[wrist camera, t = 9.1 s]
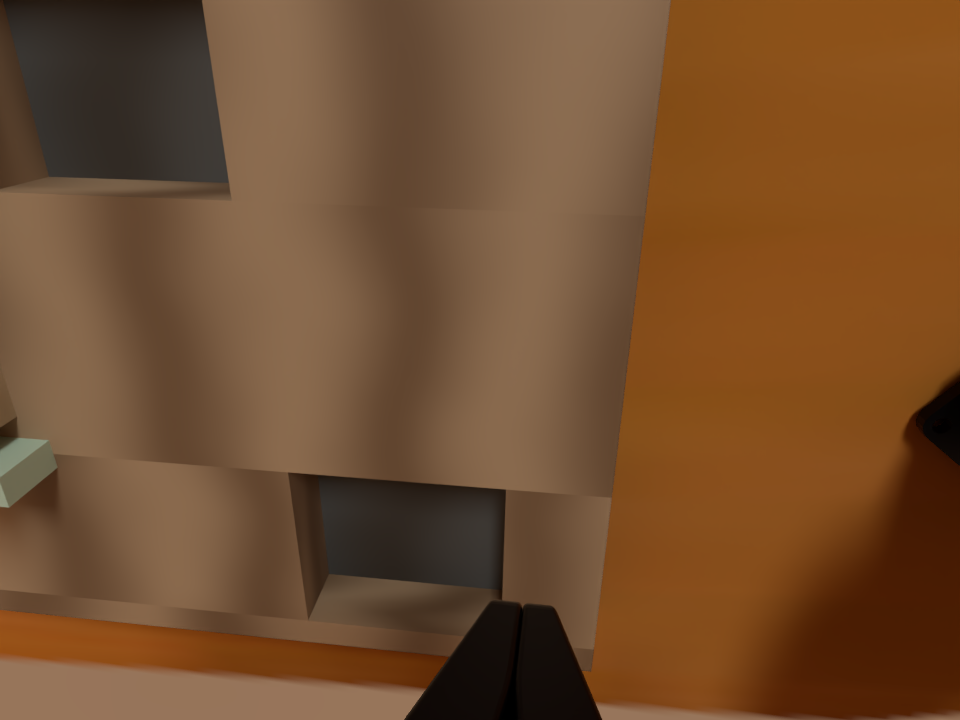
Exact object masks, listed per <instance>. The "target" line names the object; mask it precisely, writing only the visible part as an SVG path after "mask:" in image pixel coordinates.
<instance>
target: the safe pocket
mask: <svg viewBox="0 0 960 720" xmlns="http://www.w3.org/2000/svg"><path fill="white" fill-rule="evenodd" d="M56 468H58V467H57V464H56V461H55V458H54V455H53V452H52V448H51V445H50V442H49V440H40V439H26V438H13V437H0V507H8V508H9V507H11V506H12V505H13V504H14V503H15V502H17V501H18V500H19V499H20V498H21V497H23V496H24V495H25V494H26V493H27V492H29V491H30V490H31V489H32V488H33V487H35V486H36V485H37V484H38V483H39V482H41V481H42V480H43V479H44V478H46V477H47V476H48V475H49V474H50V473H52V472H53V471H54V470H55V469H56Z"/></svg>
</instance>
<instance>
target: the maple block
mask: <svg viewBox="0 0 960 720" xmlns="http://www.w3.org/2000/svg"><path fill="white" fill-rule="evenodd" d="M15 417H17V415H16V412H15V409H14V406H13V403H12V400H11V397H10V394H9V391H8V388H7V385H6V382H5V379H4V376H3V373H2V370H1V367H0V427H2V426H3V425H5V424H6V423H8V422H9V421H11V420H12V419H14V418H15Z"/></svg>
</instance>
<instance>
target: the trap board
mask: <svg viewBox="0 0 960 720" xmlns="http://www.w3.org/2000/svg"><path fill="white" fill-rule="evenodd" d="M670 2H671V0H0V367H1V370H2V373H3V376H4V379H5V382H6V385H7V388H8V391H9V394H10V397H11V400H12V403H13V406H14V409H15V412H16V415H17V417H15V418H14V419H12V420H11V421H9V422H8V423H6V424H5V425H3V426H2V427H0V437H13V438H26V439H40V440H49V442H50V445H51V448H52V452H53V455H54V458H55V461H56V464H57V467H58V468H56V469H55V470H54V471H53V472H52V473H50V474H49V475H48V476H47V477H46V478H44V479H43V480H42V481H41V482H39V483H38V484H37V485H36V486H35V487H33V488H32V489H31V490H30V491H29V492H27V493H26V494H25V495H24V496H23V497H21V498H20V499H19V500H18V501H17V502H15V503H14V504H13V505H12V506H11V507H9V508H8V507H0V610H8V611H17V612H27V613H36V614H46V615H55V616H65V617H75V618H84V619H94V620H103V621H113V622H122V623H132V624H142V625H151V626H161V627H170V628H180V629H189V630H199V631H209V632H218V633H228V634H237V635H247V636H256V637H266V638H276V639H285V640H295V641H304V642H314V643H323V644H333V645H343V646H352V647H362V648H371V649H381V650H390V651H400V652H410V653H419V654H429V655H438V656H448V657H450V656H451V654H452V653H453V652H454V650H455V649H456V647H457V646H458V645H459V643H460V642H461V640H462V639H463V638H464V636H465V635H466V634H467V632H468V631H469V629H470V628H471V627H472V625H473V624H474V623H475V621H476V620H477V618H478V617H479V616H480V614H481V613H482V611H483V610H484V609H485V607H486V606H487V605H488V603H489V602H490V601H492V600H505V601H515V602H519V603H520V604H521V605H522V609H523V606H524V605H525V604H526V603H533V604H542V605H551V606H553V607H554V608H555V609H556V611H557V613H558V615H559V618H560V620H561V622H562V625H563V627H564V630H565V632H566V634H567V637H568V639H569V641H570V644H571V646H572V649H573V651H574V653H575V656H576V658H577V661H578V663H579V665H580V668H581V670H582V671H591V668H592V660H593V651H594V643H595V634H596V626H597V617H598V609H599V601H600V592H601V584H602V575H603V567H604V558H605V550H606V542H607V533H608V525H609V516H610V508H611V499H612V491H613V482H614V474H615V466H616V457H617V449H618V440H619V432H620V423H621V415H622V407H623V398H624V390H625V381H626V373H627V364H628V356H629V348H630V339H631V331H632V322H633V314H634V305H635V297H636V289H637V280H638V272H639V263H640V255H641V246H642V238H643V229H644V221H645V213H646V204H647V196H648V187H649V179H650V170H651V162H652V154H653V145H654V137H655V128H656V120H657V111H658V103H659V95H660V86H661V78H662V69H663V61H664V52H665V44H666V36H667V27H668V19H669V10H670Z"/></svg>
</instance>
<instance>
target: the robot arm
mask: <svg viewBox="0 0 960 720" xmlns="http://www.w3.org/2000/svg"><path fill="white" fill-rule="evenodd" d="M941 418H944V421H943V422H942V423H941V424H940V425H938V426H933V427H932V425H933V424H934V422H935V421H937V420H939V419H941ZM916 426H917V427H918V428H919V430H920V431H921V432H922V433H923V434H924V435H925V436H926V437H927V438H928V439H929V440H930V441H931V442H932V443H934V444H935V445H936V446H937V447H938V448H939V449H941V450H942V451H943V452H944V453H945V454H946V455H948V456H949V457H950V458H951V459H952V460H953V461H955V462H956V463H957V464H958V465H959V466H960V382H959V383H957V384H956V385H955V386H953V387H952V388H951V389H949V390H948V391H947V392H945V393H944V394H943V395H941V396H940V397H939V398H937V399H936V400H935V401H933V402H932V403H931V404H929V405H928V406H927V407H925V408H924V409H923V410H922V411H921V412H920V413H919V414H918V416H917V419H916ZM404 720H602V718H601V716H600V713H599V711H598V709H597V706H596V704H595V701H594V699H593V697H592V694H591V692H590V689H589V687H588V685H587V682H586V680H585V677H584V675H583V673H582V670H581V668H580V665H579V663H578V661H577V658H576V656H575V653H574V651H573V649H572V646H571V644H570V641H569V639H568V637H567V634H566V632H565V630H564V627H563V625H562V622H561V620H560V618H559V615H558V613H557V611H556V609H555V608H554V607H553V606H551V605H542V604H533V603H526V604H525V605H524V606H523V609H522V605H521V604H520V603H519V602H515V601H505V600H492V601H490V602H489V603H488V605H487V606H486V607H485V609H484V610H483V611H482V613H481V614H480V616H479V617H478V618H477V620H476V621H475V623H474V624H473V625H472V627H471V628H470V629H469V631H468V632H467V634H466V635H465V636H464V638H463V639H462V640H461V642H460V643H459V645H458V646H457V647H456V649H455V650H454V652H453V653H452V654H451V656H450V657H449V658H448V660H447V661H446V663H445V664H444V665H443V667H442V668H441V669H440V671H439V672H438V674H437V675H436V676H435V678H434V679H433V681H432V682H431V683H430V685H429V686H428V687H427V689H426V690H425V692H424V693H423V694H422V696H421V697H420V698H419V700H418V701H417V703H416V704H415V705H414V707H413V708H412V710H411V711H410V712H409V714H408V715H407V716H406V718H405V719H404Z"/></svg>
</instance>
